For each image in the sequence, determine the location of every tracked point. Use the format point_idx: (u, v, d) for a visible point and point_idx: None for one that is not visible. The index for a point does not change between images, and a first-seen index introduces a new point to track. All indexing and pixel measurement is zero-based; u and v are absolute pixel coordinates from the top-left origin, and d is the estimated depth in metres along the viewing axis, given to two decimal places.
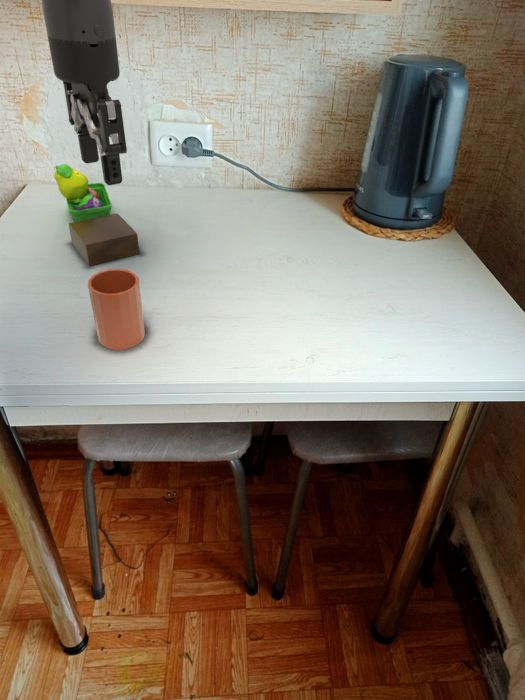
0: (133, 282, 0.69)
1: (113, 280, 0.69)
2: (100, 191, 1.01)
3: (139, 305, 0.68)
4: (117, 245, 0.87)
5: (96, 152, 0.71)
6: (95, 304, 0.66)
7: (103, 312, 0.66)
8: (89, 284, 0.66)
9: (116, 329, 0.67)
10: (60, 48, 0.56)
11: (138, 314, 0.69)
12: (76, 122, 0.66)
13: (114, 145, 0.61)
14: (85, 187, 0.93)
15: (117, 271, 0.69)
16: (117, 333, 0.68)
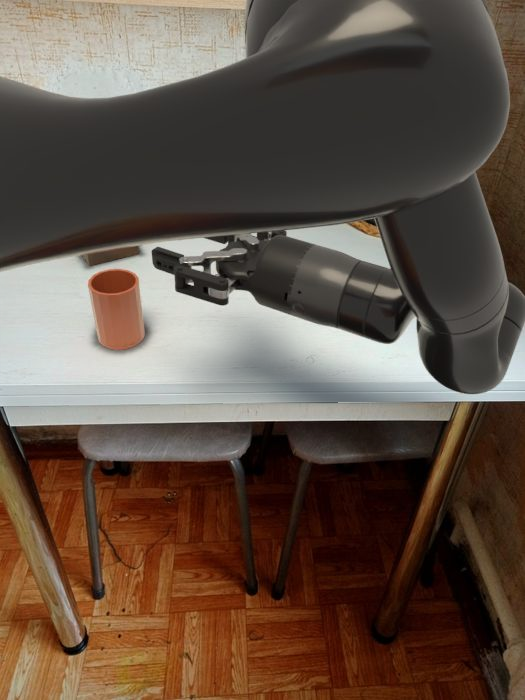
0: (133, 282, 0.69)
1: (113, 280, 0.69)
2: None
3: (139, 305, 0.68)
4: None
5: (207, 237, 0.60)
6: (95, 304, 0.66)
7: (103, 312, 0.66)
8: (89, 284, 0.66)
9: (116, 329, 0.67)
10: (292, 258, 0.49)
11: (138, 314, 0.69)
12: None
13: (183, 280, 0.50)
14: None
15: (117, 271, 0.69)
16: (117, 333, 0.68)
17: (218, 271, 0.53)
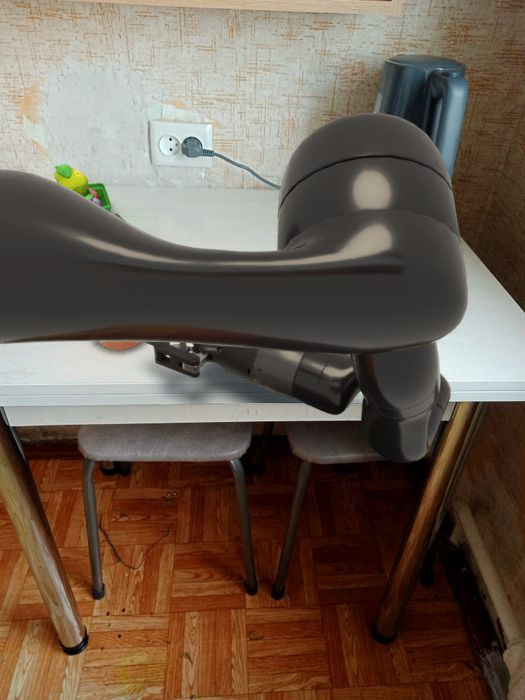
0: None
1: None
2: (100, 191, 1.01)
3: None
4: None
5: None
6: None
7: None
8: None
9: None
10: None
11: None
12: None
13: (161, 354, 0.58)
14: (85, 187, 0.93)
15: None
16: None
17: (193, 344, 0.61)
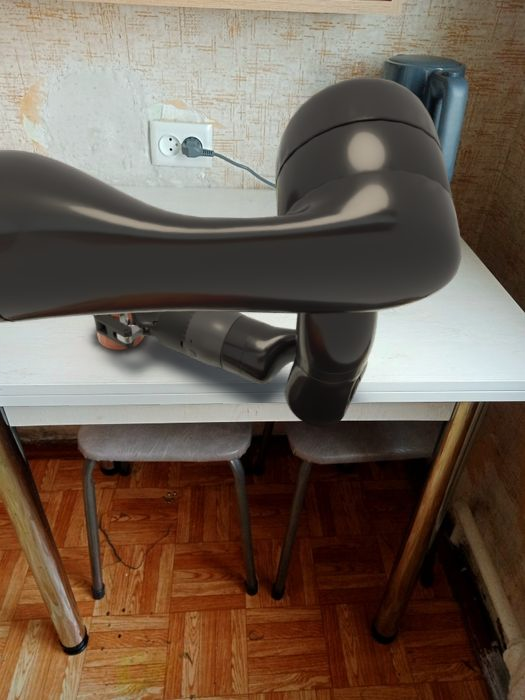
0: None
1: None
2: None
3: None
4: None
5: None
6: None
7: None
8: None
9: None
10: (186, 313, 0.60)
11: None
12: None
13: (101, 324, 0.62)
14: None
15: None
16: None
17: None
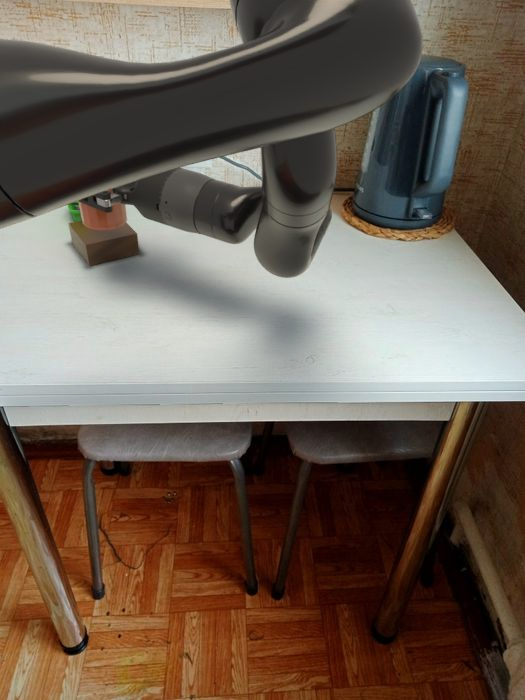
0: None
1: None
2: None
3: None
4: (117, 245, 0.87)
5: None
6: None
7: None
8: None
9: None
10: (162, 176, 0.63)
11: None
12: None
13: None
14: None
15: None
16: (99, 211, 0.71)
17: (113, 191, 0.68)
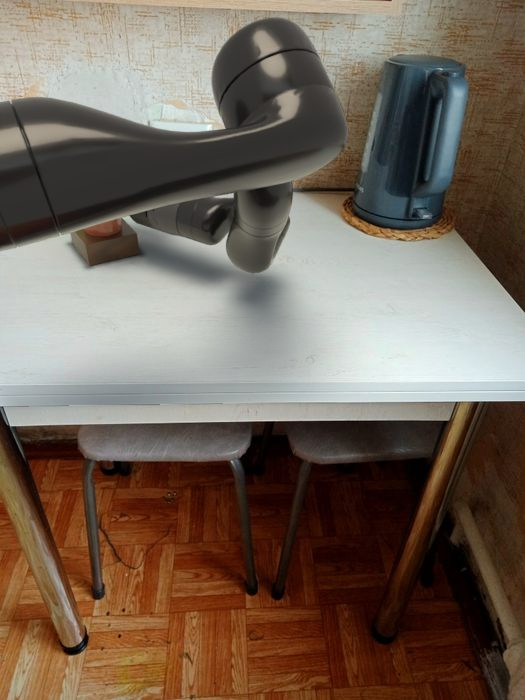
0: None
1: None
2: None
3: None
4: (117, 245, 0.87)
5: None
6: None
7: None
8: None
9: None
10: None
11: None
12: None
13: None
14: None
15: None
16: None
17: None
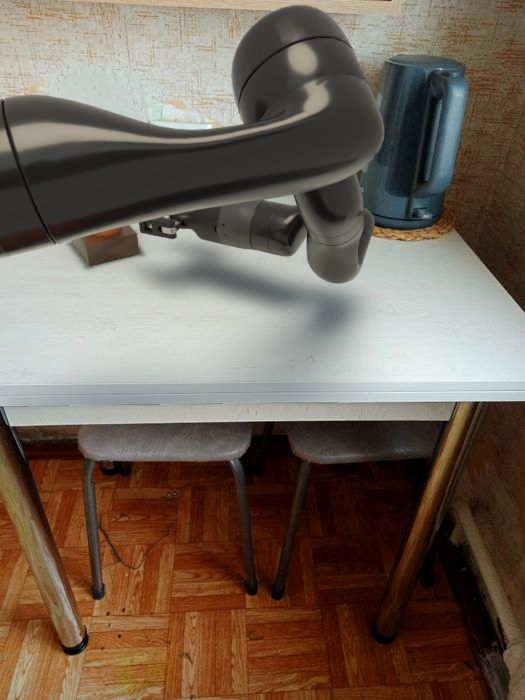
0: None
1: None
2: None
3: None
4: (117, 245, 0.87)
5: None
6: None
7: None
8: None
9: None
10: None
11: None
12: None
13: (144, 224, 0.72)
14: None
15: None
16: None
17: (170, 217, 0.75)
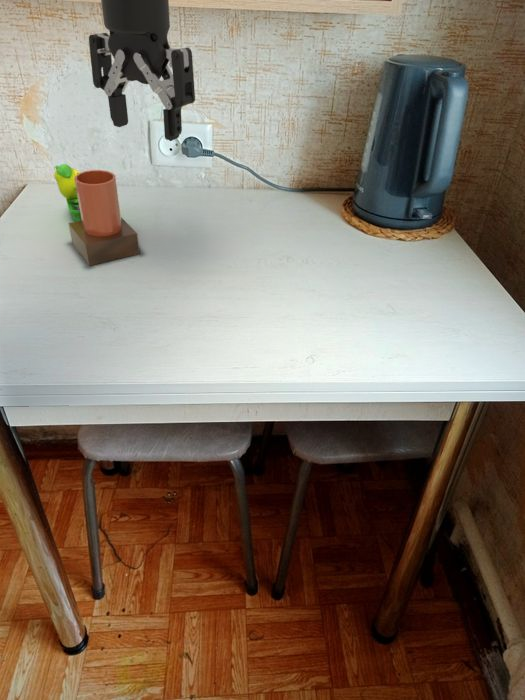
0: None
1: (95, 180, 0.86)
2: None
3: (116, 198, 0.84)
4: (117, 245, 0.87)
5: (126, 114, 0.68)
6: (80, 194, 0.82)
7: (86, 201, 0.82)
8: (75, 178, 0.82)
9: (98, 217, 0.84)
10: None
11: (116, 206, 0.85)
12: (116, 81, 0.63)
13: (186, 95, 0.61)
14: None
15: (98, 172, 0.85)
16: (98, 221, 0.84)
17: (160, 75, 0.62)
